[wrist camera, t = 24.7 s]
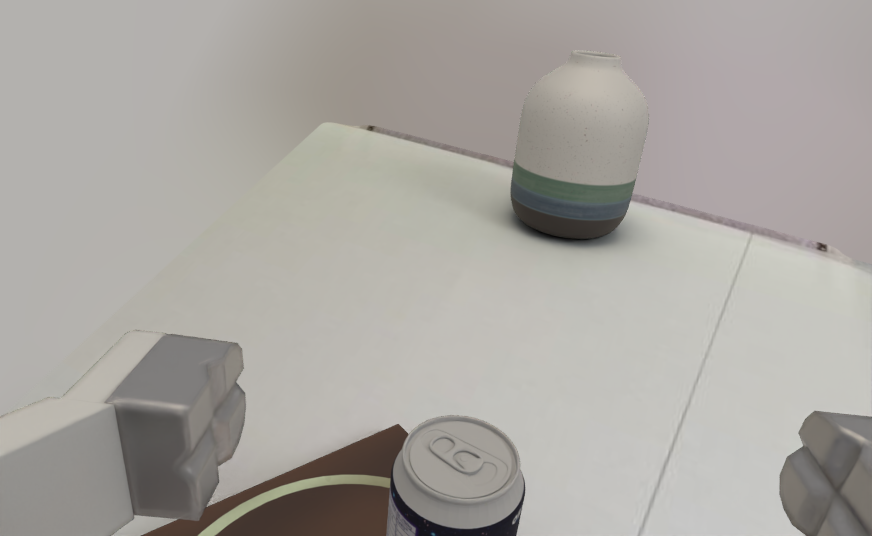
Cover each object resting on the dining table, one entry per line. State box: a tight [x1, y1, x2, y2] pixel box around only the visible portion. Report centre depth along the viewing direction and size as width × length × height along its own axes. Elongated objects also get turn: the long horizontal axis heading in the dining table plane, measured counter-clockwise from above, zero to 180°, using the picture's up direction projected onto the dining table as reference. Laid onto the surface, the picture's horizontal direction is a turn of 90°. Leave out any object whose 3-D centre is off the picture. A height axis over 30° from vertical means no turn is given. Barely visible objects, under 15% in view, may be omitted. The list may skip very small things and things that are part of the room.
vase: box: [511, 51, 649, 239], centre depth 83 cm, size 17×17×24 cm
